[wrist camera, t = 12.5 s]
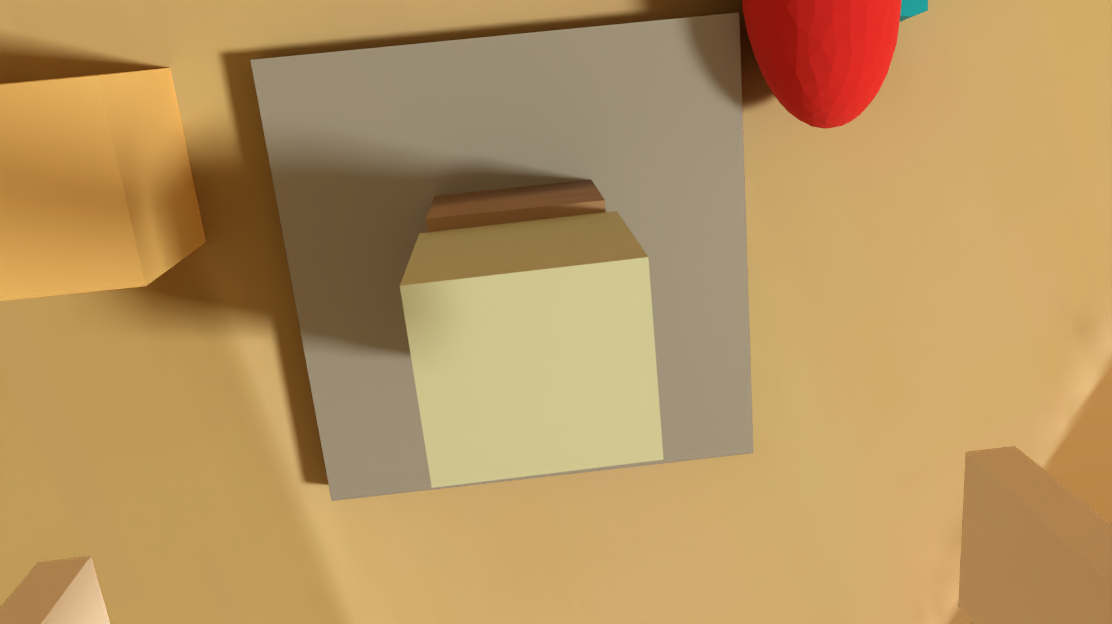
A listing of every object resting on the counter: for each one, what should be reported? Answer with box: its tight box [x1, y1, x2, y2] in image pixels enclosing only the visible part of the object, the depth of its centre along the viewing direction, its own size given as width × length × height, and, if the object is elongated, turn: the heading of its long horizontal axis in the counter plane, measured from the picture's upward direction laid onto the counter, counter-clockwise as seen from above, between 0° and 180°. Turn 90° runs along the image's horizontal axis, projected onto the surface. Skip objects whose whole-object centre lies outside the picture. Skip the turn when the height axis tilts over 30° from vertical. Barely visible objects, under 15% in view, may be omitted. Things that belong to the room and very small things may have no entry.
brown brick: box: [426, 180, 606, 232], centre depth 31 cm, size 6×5×4 cm
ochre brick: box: [0, 68, 206, 301], centre depth 29 cm, size 6×6×6 cm
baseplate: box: [251, 12, 753, 501], centre depth 33 cm, size 16×16×1 cm
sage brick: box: [400, 211, 664, 488], centre depth 26 cm, size 5×6×6 cm
